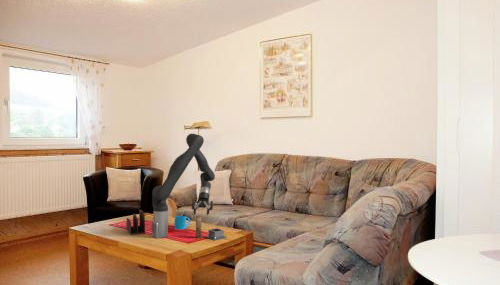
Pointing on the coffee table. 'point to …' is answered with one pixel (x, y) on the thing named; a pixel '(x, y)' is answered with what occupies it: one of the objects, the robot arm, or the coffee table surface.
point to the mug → (181, 222)
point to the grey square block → (216, 234)
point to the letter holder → (136, 224)
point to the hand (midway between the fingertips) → (200, 214)
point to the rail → (198, 226)
